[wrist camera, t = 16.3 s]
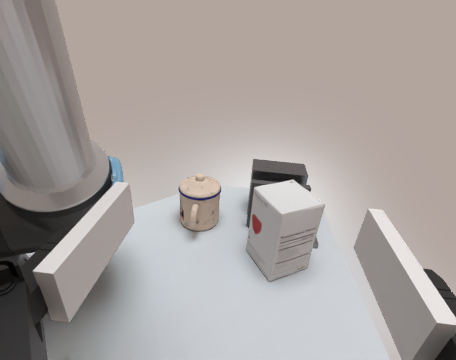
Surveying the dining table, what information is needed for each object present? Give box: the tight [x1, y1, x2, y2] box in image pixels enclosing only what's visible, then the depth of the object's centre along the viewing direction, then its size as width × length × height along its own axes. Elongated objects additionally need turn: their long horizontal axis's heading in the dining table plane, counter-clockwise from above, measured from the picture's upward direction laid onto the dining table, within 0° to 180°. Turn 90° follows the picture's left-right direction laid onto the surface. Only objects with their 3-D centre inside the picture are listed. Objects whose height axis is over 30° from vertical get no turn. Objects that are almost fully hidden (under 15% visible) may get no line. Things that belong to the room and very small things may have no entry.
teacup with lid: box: [179, 173, 221, 231], centre depth 60 cm, size 12×9×12 cm
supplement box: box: [246, 180, 325, 281], centre depth 51 cm, size 9×9×15 cm
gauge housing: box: [247, 159, 318, 248], centre depth 62 cm, size 15×15×12 cm
